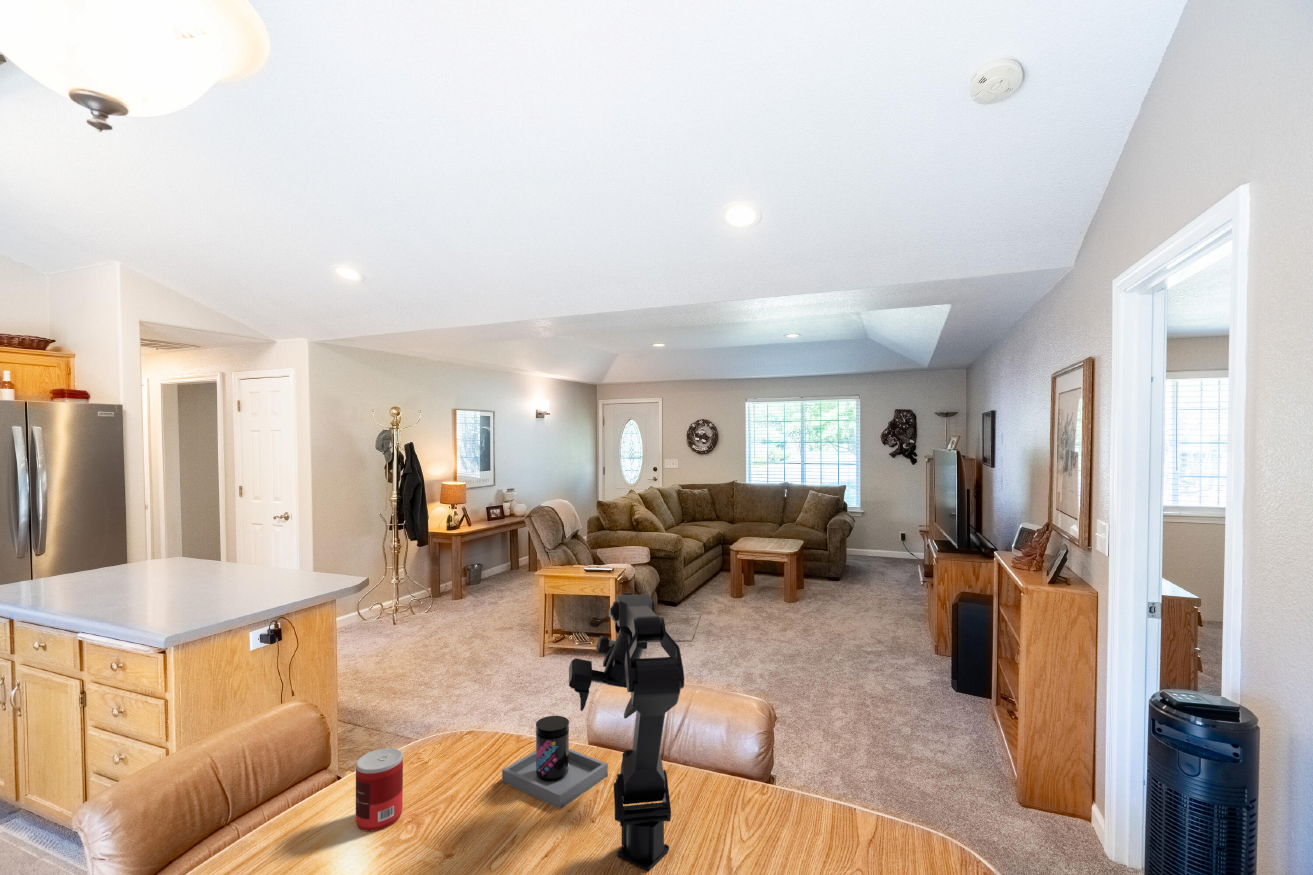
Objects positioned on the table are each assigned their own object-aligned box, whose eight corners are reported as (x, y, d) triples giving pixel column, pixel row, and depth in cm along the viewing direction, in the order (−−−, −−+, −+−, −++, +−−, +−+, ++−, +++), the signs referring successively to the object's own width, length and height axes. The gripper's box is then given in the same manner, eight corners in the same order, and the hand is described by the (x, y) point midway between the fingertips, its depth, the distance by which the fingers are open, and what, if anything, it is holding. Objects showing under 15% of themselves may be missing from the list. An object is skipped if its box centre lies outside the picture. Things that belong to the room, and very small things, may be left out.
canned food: (410, 806, 115) (410, 748, 115) (387, 833, 107) (388, 770, 107) (371, 804, 116) (372, 746, 116) (346, 831, 108) (346, 768, 108)
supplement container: (532, 768, 127) (532, 718, 127) (564, 762, 130) (564, 713, 130) (539, 785, 121) (539, 733, 121) (572, 778, 124) (572, 727, 124)
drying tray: (607, 775, 126) (607, 763, 126) (560, 809, 115) (560, 795, 115) (551, 753, 135) (551, 741, 135) (502, 781, 124) (502, 769, 124)
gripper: (665, 634, 129) (642, 691, 134) (580, 616, 125) (559, 676, 129) (674, 670, 119) (648, 732, 123) (581, 653, 115) (558, 717, 119)
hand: (603, 712), depth 124 cm, fingers open, 9 cm apart
